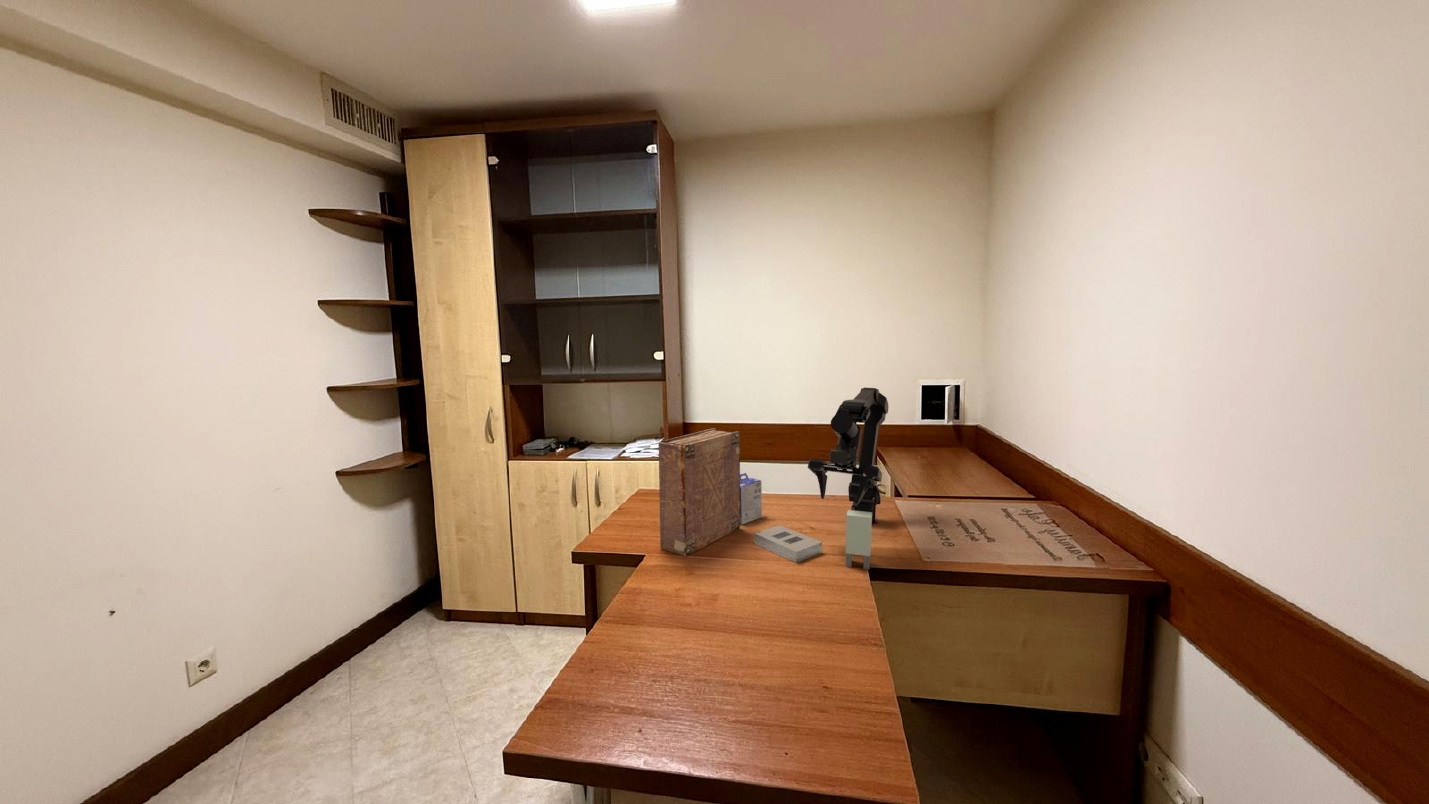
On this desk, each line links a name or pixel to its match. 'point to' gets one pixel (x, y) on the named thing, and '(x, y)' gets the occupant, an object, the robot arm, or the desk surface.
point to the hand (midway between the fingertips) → (839, 501)
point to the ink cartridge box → (750, 499)
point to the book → (698, 489)
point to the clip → (858, 536)
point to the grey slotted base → (788, 543)
